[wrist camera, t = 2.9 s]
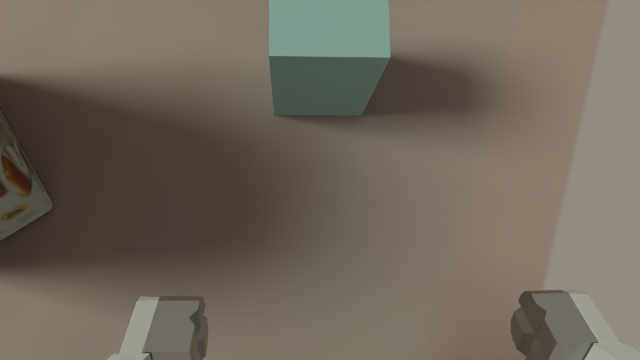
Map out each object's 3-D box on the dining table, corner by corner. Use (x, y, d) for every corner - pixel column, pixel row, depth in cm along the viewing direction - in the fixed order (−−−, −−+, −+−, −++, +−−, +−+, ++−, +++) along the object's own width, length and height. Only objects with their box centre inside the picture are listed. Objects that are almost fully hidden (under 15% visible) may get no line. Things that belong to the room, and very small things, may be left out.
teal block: (274, 115, 27) (269, 55, 20) (274, 49, 28) (269, -34, 20) (361, 115, 28) (390, 57, 20) (359, 50, 28) (386, -31, 21)
